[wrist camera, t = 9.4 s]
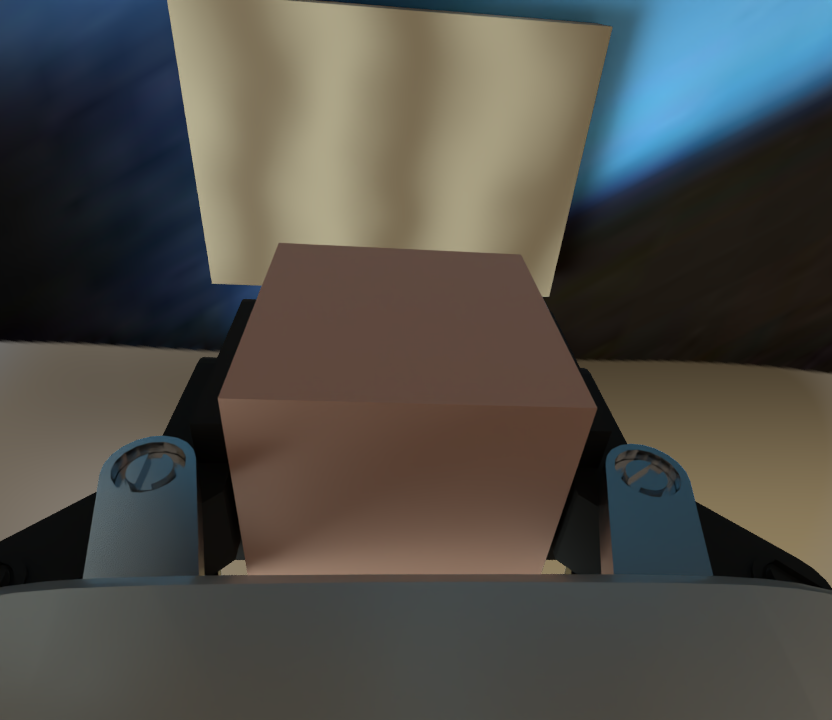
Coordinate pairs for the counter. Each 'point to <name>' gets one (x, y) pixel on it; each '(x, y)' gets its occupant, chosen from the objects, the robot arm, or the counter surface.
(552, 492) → the terracotta cube
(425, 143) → the chopping board
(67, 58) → the counter surface
